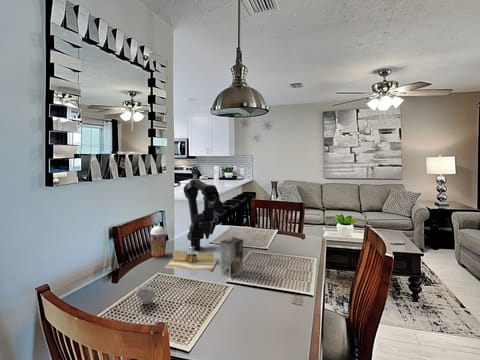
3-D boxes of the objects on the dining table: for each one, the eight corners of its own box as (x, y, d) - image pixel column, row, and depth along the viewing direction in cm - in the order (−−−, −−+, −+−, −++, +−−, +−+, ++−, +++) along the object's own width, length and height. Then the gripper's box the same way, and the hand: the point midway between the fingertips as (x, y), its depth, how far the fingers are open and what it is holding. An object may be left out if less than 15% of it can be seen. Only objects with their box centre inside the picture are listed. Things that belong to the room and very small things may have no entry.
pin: (195, 260, 153) (195, 246, 153) (193, 262, 150) (193, 247, 150) (190, 260, 154) (190, 245, 153) (188, 261, 151) (188, 247, 150)
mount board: (174, 258, 158) (174, 256, 158) (218, 260, 156) (218, 258, 156) (164, 268, 142) (164, 267, 142) (211, 271, 140) (211, 270, 140)
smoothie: (149, 259, 155) (149, 223, 154) (150, 254, 163) (149, 220, 162) (165, 258, 157) (165, 222, 156) (165, 253, 165) (165, 219, 164)
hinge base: (175, 258, 156) (175, 249, 155) (198, 259, 154) (198, 250, 154) (171, 261, 150) (171, 252, 150) (195, 263, 149) (195, 253, 149)
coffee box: (233, 268, 143) (233, 236, 142) (243, 272, 139) (243, 239, 138) (220, 274, 136) (220, 240, 135) (230, 277, 132) (231, 243, 131)
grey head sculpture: (133, 303, 108) (132, 285, 107) (150, 297, 113) (150, 280, 112) (140, 309, 103) (140, 291, 103) (158, 303, 108) (158, 285, 108)
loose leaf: (198, 260, 152) (198, 251, 152) (213, 260, 152) (213, 252, 152) (197, 261, 151) (197, 252, 151) (212, 261, 150) (212, 253, 150)
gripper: (199, 205, 167) (199, 231, 168) (189, 210, 149) (189, 240, 150) (218, 205, 166) (218, 232, 167) (210, 211, 147) (210, 241, 148)
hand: (209, 236), depth 158 cm, fingers open, 9 cm apart
